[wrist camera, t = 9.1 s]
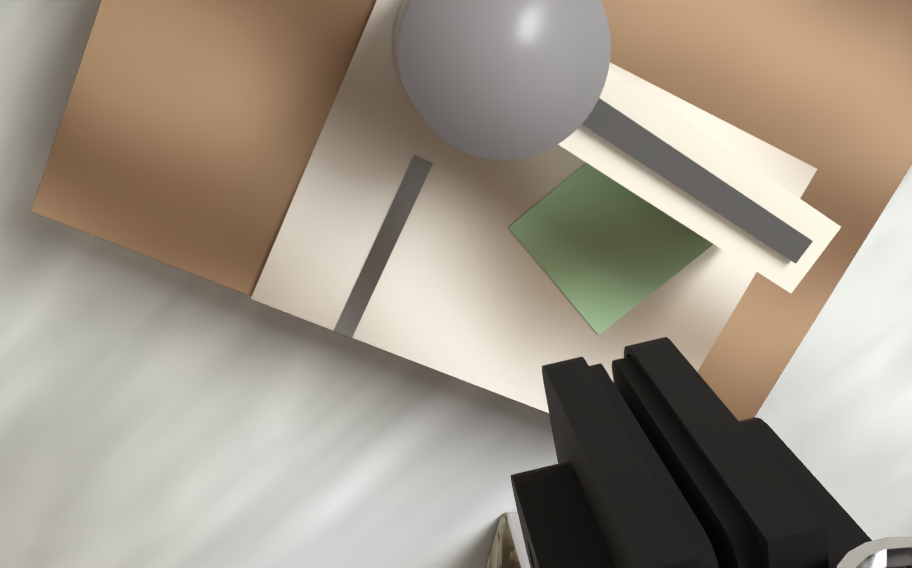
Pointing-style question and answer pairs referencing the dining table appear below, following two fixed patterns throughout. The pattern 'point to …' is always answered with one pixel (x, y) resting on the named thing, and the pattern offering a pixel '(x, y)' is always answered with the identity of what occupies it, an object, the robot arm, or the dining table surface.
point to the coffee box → (508, 544)
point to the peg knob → (592, 121)
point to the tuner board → (479, 180)
